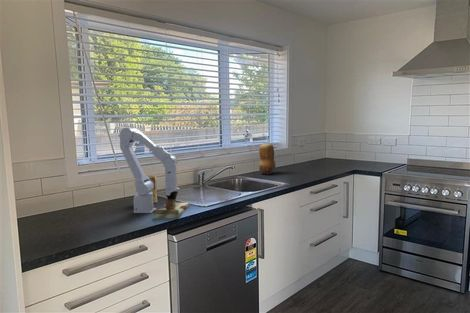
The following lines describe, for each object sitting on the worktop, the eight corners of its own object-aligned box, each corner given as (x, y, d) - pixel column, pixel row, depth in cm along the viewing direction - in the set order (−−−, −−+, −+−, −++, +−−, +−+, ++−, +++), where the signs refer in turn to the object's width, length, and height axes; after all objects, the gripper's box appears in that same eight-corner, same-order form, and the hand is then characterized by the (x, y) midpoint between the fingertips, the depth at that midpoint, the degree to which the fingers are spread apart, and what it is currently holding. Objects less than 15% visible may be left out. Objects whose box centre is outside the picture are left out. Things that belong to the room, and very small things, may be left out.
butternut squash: (257, 173, 288) (257, 142, 285) (273, 172, 289) (273, 142, 286) (260, 175, 274) (260, 144, 271) (277, 175, 275) (277, 143, 272)
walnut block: (166, 210, 173) (165, 203, 172) (167, 206, 177) (167, 199, 175) (173, 210, 173) (173, 203, 171) (175, 206, 177) (174, 199, 175)
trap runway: (153, 218, 167) (153, 210, 167) (167, 206, 189) (166, 199, 188) (178, 218, 166) (178, 210, 166) (188, 206, 188) (188, 199, 187)
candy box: (157, 201, 201) (156, 175, 199) (156, 203, 196) (155, 176, 195) (141, 201, 200) (140, 175, 198) (140, 203, 196) (138, 177, 194)
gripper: (175, 182, 168) (176, 209, 170) (182, 177, 183) (183, 202, 184) (160, 182, 169) (162, 209, 171) (169, 177, 183) (170, 202, 185)
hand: (172, 206), depth 178 cm, fingers closed
